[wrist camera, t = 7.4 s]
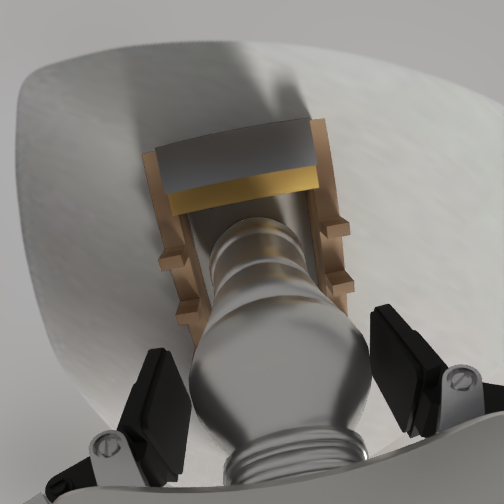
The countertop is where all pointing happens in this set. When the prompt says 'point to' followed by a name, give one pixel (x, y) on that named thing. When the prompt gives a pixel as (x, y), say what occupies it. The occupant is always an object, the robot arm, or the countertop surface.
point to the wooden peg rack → (243, 189)
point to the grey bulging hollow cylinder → (277, 362)
